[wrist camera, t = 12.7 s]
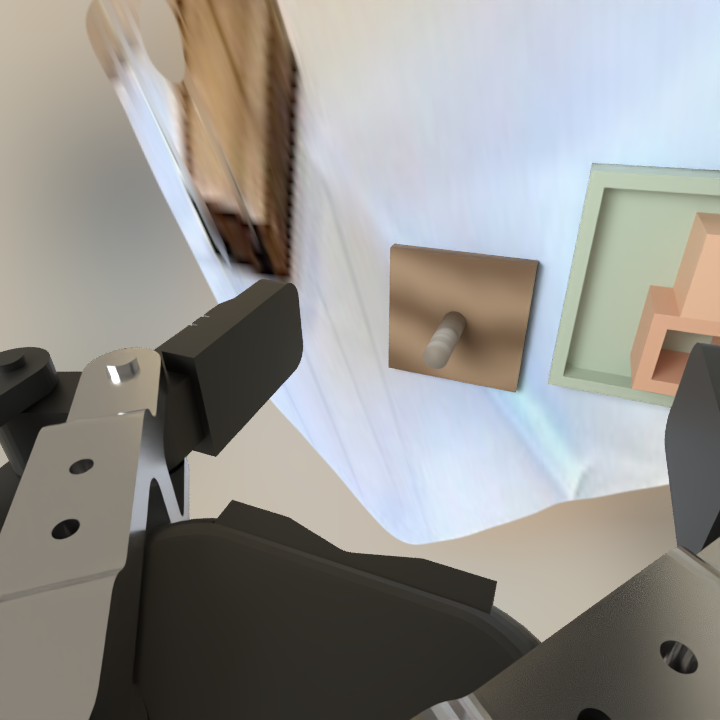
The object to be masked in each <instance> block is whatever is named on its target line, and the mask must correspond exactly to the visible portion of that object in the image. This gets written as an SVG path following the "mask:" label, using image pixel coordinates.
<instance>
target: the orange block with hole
mask: <svg viewBox="0 0 720 720" xmlns="http://www.w3.org/2000/svg"><path fill="white" fill-rule="evenodd" d="M667 329H669V330H676V331H683V332H690V333H697V334H704V335H711V336H713V338H712V341H711V344H714V345H720V214H717V213H704V212H696V216H695V219H694V222H693V225H692V228H691V232H690V235H689V238H688V241H687V244H686V248H685V251H684V254H683V257H682V261H681V264H680V267H679V270H678V273H677V277H676V280H675V283H674V286H673V288H671V287H662V286H654V285H650V287H649V291H648V294H647V298H646V301H645V305H644V308H643V312H642V315H641V319H640V322H639V326H638V329H637V333H636V336H635V340H634V343H633V347H632V350H631V354H630V363H631V380H632V389H637V390H642V391H648V392H654V393H659V394H665V395H670V396H675V395H676V392H677V390H678V387H679V384H680V381H681V378H682V375H683V372H684V369H685V367H686V364H687V361H688V358H689V355H690V353H686V352H680V351H673V350H667V349H661V347H662V344H663V341H664V338H665V335H666V332H667Z"/></svg>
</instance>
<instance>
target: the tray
mask: <svg viewBox="0 0 720 720" xmlns="http://www.w3.org/2000/svg"><path fill="white" fill-rule="evenodd" d="M696 212H704V213H717V214H720V171H719V170H702V169H684V168H667V167H649V166H632V165H614V164H597V163H592V168H591V173H590V178H589V183H588V187H587V192H586V197H585V202H584V207H583V212H582V217H581V222H580V227H579V232H578V237H577V242H576V247H575V251H574V256H573V261H572V266H571V271H570V276H569V281H568V286H567V291H566V296H565V301H564V306H563V311H562V315H561V320H560V325H559V330H558V335H557V340H556V345H555V350H554V355H553V360H552V365H551V370H550V375H549V381H548V384H550V385H556V386H561V387H566V388H572V389H577V390H582V391H588V392H593V393H598V394H604V395H609V396H614V397H619V398H625V399H630V400H635V401H641V402H646V403H651V404H657V405H662V406H667V407H672V404H673V401H674V398H675V396H670V395H665V394H659V393H654V392H648V391H642V390H637V389H632V380H631V363H630V354H631V350H632V347H633V343H634V340H635V336H636V333H637V329H638V326H639V322H640V319H641V315H642V312H643V308H644V305H645V301H646V298H647V294H648V291H649V287H650V285H654V286H662V287H671V288H673V286H674V283H675V280H676V277H677V273H678V270H679V267H680V264H681V261H682V257H683V254H684V251H685V248H686V244H687V241H688V238H689V235H690V232H691V228H692V225H693V222H694V219H695V216H696ZM712 338H713V336H711V335H704V334H697V333H690V332H683V331H676V330H669V329H667V332H666V335H665V338H664V341H663V344H662V347H661V349H667V350H673V351H680V352H686V353H691V350H692V348H693V347H694V345H695V344H696V343H698V342H700V343H707V344H711V341H712Z"/></svg>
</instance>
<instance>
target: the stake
mask: <svg viewBox="0 0 720 720" xmlns="http://www.w3.org/2000/svg"><path fill="white" fill-rule="evenodd" d="M537 266H538V261H537V260H528V259H520V258H511V257H503V256H494V255H485V254H477V253H468V252H460V251H451V250H443V249H434V248H425V247H417V246H408V245H400V244H394V245H393V246H392V247H391V248H390V309H389V368H394V369H399V370H404V371H409V372H415V373H420V374H425V375H430V376H435V377H440V378H445V379H450V380H455V381H460V382H465V383H470V384H475V385H480V386H486V387H491V388H496V389H501V390H506V391H511V392H516V389H517V385H518V379H519V373H520V367H521V361H522V355H523V349H524V343H525V337H526V331H527V325H528V319H529V314H530V308H531V302H532V296H533V290H534V284H535V278H536V272H537Z"/></svg>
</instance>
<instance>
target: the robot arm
mask: <svg viewBox="0 0 720 720" xmlns="http://www.w3.org/2000/svg"><path fill="white" fill-rule="evenodd" d="M302 352H303V339H302V329H301V318H300V308H299V297H298V292H297V289H296V287H295V285H294V284H292V283H286V282H279V281H272V280H265V279H261V280H259V281H258V282H256V283H255V284H253V285H252V286H251V287H249V288H248V289H246V290H245V291H244V292H242V293H241V294H240V295H238V296H237V297H235V298H233V299H231V300H228V301H226V302H223V303H221V304H218V305H217V306H216V307H214V308H213V309H211V310H210V311H209V312H207V313H206V314H204V317H200V318H199V319H197V320H196V321H194V322H193V323H192V326H190V325H189V326H188V327H186V328H185V329H183V330H182V331H180V332H179V333H178V334H176V335H175V336H174V337H172V338H170V339H169V340H168V341H166V342H165V343H163V344H162V345H161V346H159V347H158V348H156V349H155V350H152V349H148V348H140V347H134V348H124V349H119V350H115V351H112V352H109V353H106V354H104V355H102V356H99V357H98V358H96V359H94V360H93V361H91V362H90V363H89V364H88V365H87V366H86V367H85V368H84V370H83V372H56V370H55V367H54V364H53V362H52V359H51V357H50V354H49V353H48V352H47V351H46V350H44V349H41V348H36V347H25V348H16V349H11V350H7V351H3V352H0V443H1V445H2V448H3V450H4V452H5V454H6V456H7V458H8V460H9V462H8V463H6V464H5V465H3V466H2V467H1V468H0V720H720V345H714V344H707V343H700V342H698V343H696V344H695V345H694V347H693V348H692V350H691V353H690V355H689V358H688V361H687V364H686V367H685V369H684V372H683V375H682V378H681V381H680V384H679V387H678V390H677V392H676V395H675V398H674V401H673V404H672V407H671V410H670V413H669V416H668V420H667V425H666V431H665V452H666V459H667V467H668V475H669V483H670V491H671V499H672V506H673V515H674V523H675V531H676V539H677V547H676V548H674V549H672V550H670V551H668V552H667V553H665V555H663V556H661V557H660V558H659V559H657V560H656V561H654V562H653V563H652V564H650V565H649V566H648V567H646V568H645V569H644V570H642V571H641V572H639V573H638V574H636V575H635V576H634V577H632V578H631V579H630V580H628V581H627V582H626V583H624V584H623V585H621V586H620V587H618V588H617V589H616V590H614V591H613V592H611V593H610V594H609V595H607V596H606V597H605V598H603V599H602V600H600V601H599V602H598V603H596V604H595V605H593V606H592V607H591V608H589V609H588V610H587V611H585V612H584V613H582V614H581V615H580V616H578V617H577V618H575V619H574V620H573V621H571V622H570V623H569V624H567V625H566V626H564V627H563V628H562V629H560V630H559V631H558V632H556V633H555V634H553V635H552V636H551V637H549V638H548V639H546V640H545V641H544V642H542V643H541V642H540V641H539V640H538V639H537V638H536V637H535V636H534V635H533V634H531V632H530V631H528V630H527V629H526V628H525V627H524V626H523V625H521V624H520V623H519V622H517V621H516V620H515V619H513V618H512V617H511V616H509V615H508V614H506V613H505V612H503V611H502V610H500V609H498V608H497V607H495V606H493V601H494V596H495V590H496V584H497V581H494V580H490V579H487V578H484V577H481V576H478V575H474V574H471V573H468V572H465V571H461V570H458V569H454V568H452V567H448V566H445V565H442V564H439V563H435V562H432V561H429V560H425V559H421V558H409V557H397V556H384V555H373V554H361V553H351V552H346V551H343V550H341V549H339V548H338V547H336V546H334V545H333V544H331V543H329V542H328V541H326V540H325V539H323V538H321V537H320V536H318V535H317V534H315V533H313V532H311V531H310V530H308V529H307V528H305V527H304V526H302V525H300V524H299V523H297V522H295V521H294V520H292V519H291V518H289V517H286V516H283V515H280V514H276V513H273V512H270V511H267V510H263V509H260V508H257V507H253V506H250V505H247V504H244V503H241V502H237V501H234V500H232V501H231V502H230V503H229V504H228V506H227V507H226V508H225V509H224V511H223V512H222V513H221V514H220V516H219V517H218V518H203V519H191V520H189V464H188V460H187V455H188V454H189V453H190V452H191V451H192V450H193V451H197V452H201V453H204V454H208V455H211V456H215V457H216V456H217V455H218V454H219V453H220V452H221V451H222V450H223V449H224V447H225V446H226V445H227V444H228V443H229V442H230V441H231V439H232V438H234V436H235V435H236V434H237V433H238V432H239V431H240V430H241V429H242V428H243V427H244V426H245V425H246V423H247V422H248V421H249V420H250V419H251V418H252V417H253V416H254V415H255V414H256V412H257V411H258V410H259V409H260V408H261V407H262V406H263V405H264V404H265V403H266V402H267V400H269V398H270V397H271V396H272V395H273V394H274V393H275V392H276V391H277V390H278V389H279V388H280V386H281V385H282V384H283V383H284V382H285V381H286V380H287V379H288V378H289V377H290V376H291V374H292V373H293V372H294V371H295V370H296V369H297V367H298V365H299V363H300V361H301V357H302Z"/></svg>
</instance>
